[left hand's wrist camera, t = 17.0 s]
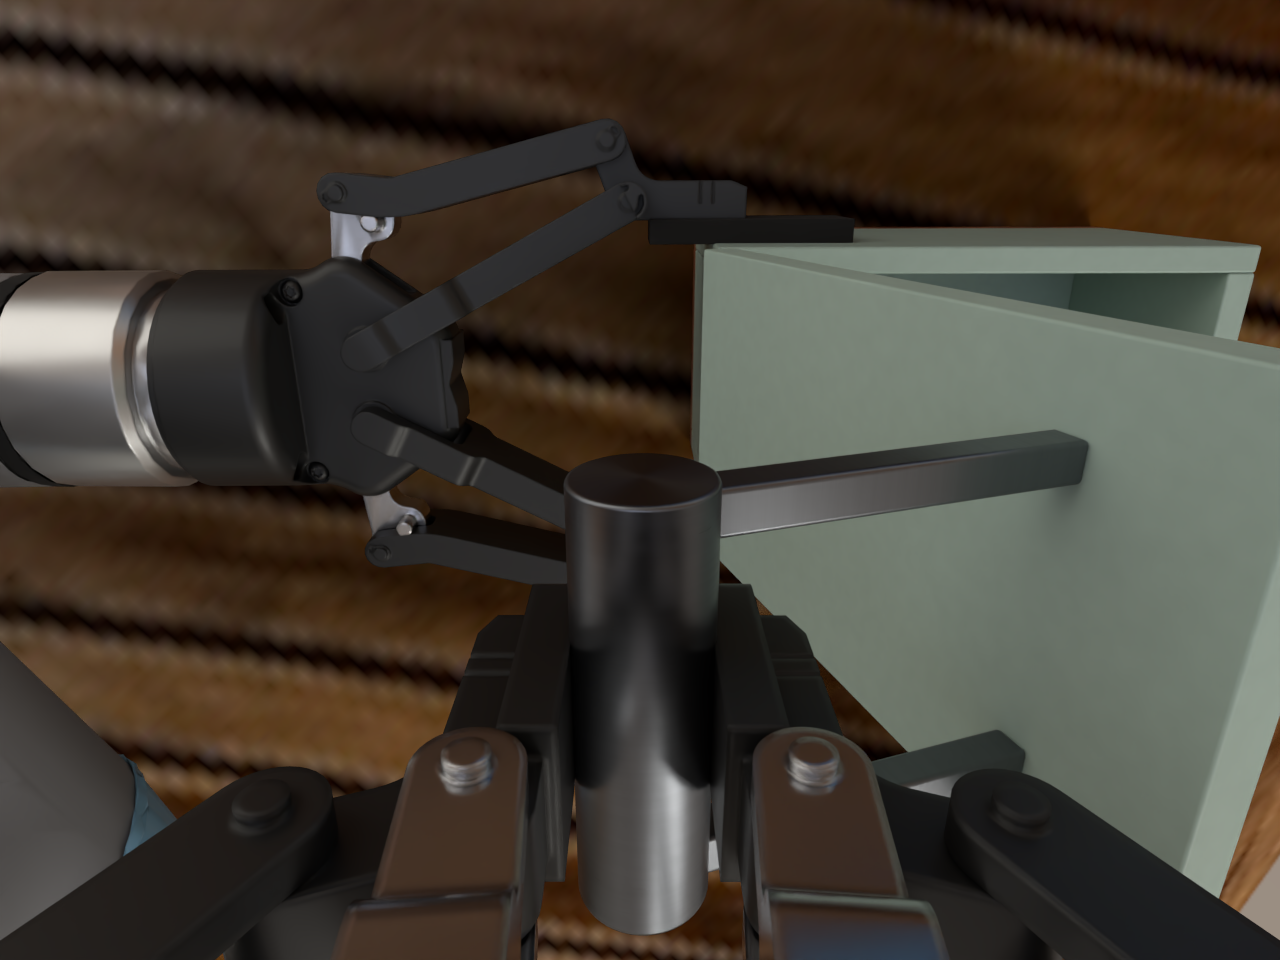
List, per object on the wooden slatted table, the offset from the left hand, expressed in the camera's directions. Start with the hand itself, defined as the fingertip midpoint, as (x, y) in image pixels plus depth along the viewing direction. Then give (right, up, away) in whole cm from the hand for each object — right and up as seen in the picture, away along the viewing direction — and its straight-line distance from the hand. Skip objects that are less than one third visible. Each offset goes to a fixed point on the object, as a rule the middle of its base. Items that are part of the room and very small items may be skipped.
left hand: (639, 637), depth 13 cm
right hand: (+7, +6, +16) cm, 19 cm away
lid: (+6, +2, +6) cm, 8 cm away
